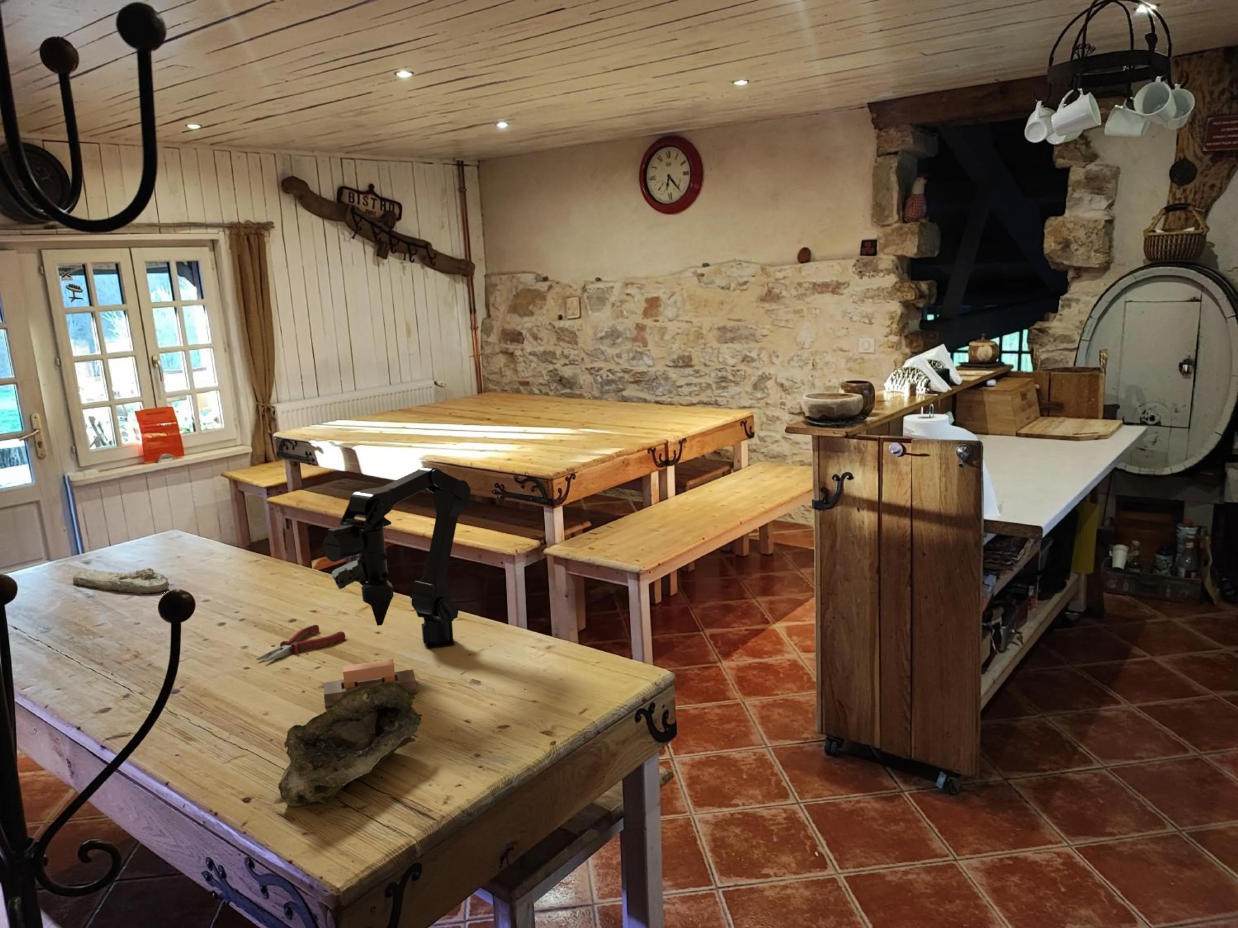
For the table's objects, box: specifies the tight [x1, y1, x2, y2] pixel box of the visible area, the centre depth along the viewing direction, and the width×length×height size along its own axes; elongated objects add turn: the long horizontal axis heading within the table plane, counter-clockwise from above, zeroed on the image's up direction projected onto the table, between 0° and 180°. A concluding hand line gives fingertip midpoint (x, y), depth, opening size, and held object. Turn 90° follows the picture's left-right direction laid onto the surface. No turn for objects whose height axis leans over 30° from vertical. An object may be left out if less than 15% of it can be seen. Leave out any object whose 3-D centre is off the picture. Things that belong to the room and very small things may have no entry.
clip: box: [342, 658, 396, 689], centre depth 184 cm, size 10×3×6 cm, turn 108°
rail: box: [323, 669, 418, 710], centre depth 185 cm, size 18×6×3 cm, turn 108°
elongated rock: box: [72, 567, 170, 595], centre depth 261 cm, size 35×5×10 cm
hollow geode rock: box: [277, 683, 423, 807], centre depth 154 cm, size 28×13×15 cm
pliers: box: [256, 624, 346, 663], centre depth 211 cm, size 12×20×3 cm, turn 148°
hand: (377, 617), depth 196 cm, fingers open, 9 cm apart
